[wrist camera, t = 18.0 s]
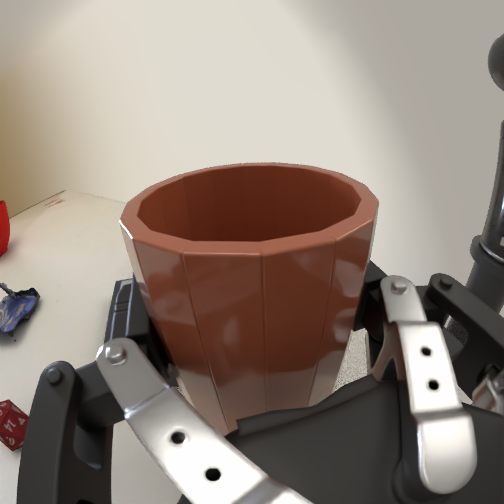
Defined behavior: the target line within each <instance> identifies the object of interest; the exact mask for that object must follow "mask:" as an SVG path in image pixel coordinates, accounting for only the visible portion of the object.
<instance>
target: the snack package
mask: <svg viewBox="0 0 504 504" xmlns="http://www.w3.org/2000/svg"><path fill="white" fill-rule="evenodd" d="M0 288H2V289H3V290H4V291H6V293H7V294H9V295H8V296H5V297H4V298H3V300H2V301H1V302H0V331H1V332H3V333H5V334H7V335H9V336H11V337H13V334H14V331H15V328H16V326H17V324H18V322H19V321H20V320H21V318H26V319H28V320H29V318H30V316H31V314H32V312H33V311H35V310H34V309H35V308H36V305H37V302H38V299H39V298H40V295H39V294H38V292H37V291H36V290H35V289H34V288H30V289H29V290H26V291H25V290H24V291H23V290H21V291H19V292H13V291H12V290H11V289H8V288H7V286H6V284H4V283H2V284H1V283H0ZM15 341H16V339H15ZM15 341H14V342H15Z"/></svg>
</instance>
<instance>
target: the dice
mask: <svg viewBox="0 0 504 504" xmlns="http://www.w3.org/2000/svg"><path fill="white" fill-rule="evenodd" d="M28 419H29V416H27V415H26V414H25V413H24V412H23V411H21V410H20V409H19V408H18V407H17V406H16V405H15V404H13V403H12V402H11V401H10V400H6V401H2V402H0V441H1V442H2V443H3V444H5V445H6V446H7V447H8V448H9V449H10V450H11V451H14V450H16V449H19V448H21V447H23V442H24V437H25V432H26V427H27V423H28Z"/></svg>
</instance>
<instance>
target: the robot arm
mask: <svg viewBox="0 0 504 504" xmlns="http://www.w3.org/2000/svg"><path fill="white" fill-rule="evenodd" d="M488 68H489V72H490V75H491V77H492V79H493V81H494V82H495V84H496V85H497V86H498V87H499V88H500V89H501V90H503V91H504V34H502V35H501V36H499V37H498V38H497V39H496V40H495V42H494V43H493V44H492V46H491V49H490V51H489V55H488ZM479 245H480V247H481V249H482V250H483V251H484V252H485V253H486V254H487V255H488V256H489V257H491V258H492V259H493V260H495V261H496V262H498V263H500V264H502V265H504V120H503V121H502V123H501V130H500V143H499V153H498V162H497V169H496V175H495V181H494V187H493V192H492V197H491V202H490V206H489V210H488V214H487V218H486V222H485V226H484V229H483V233H482V236H481V238H480V241H479ZM115 304H116V305H115V308H114V314H113V320H112V326H111V332H110V339H109V341H108V342H107V343H105V344H104V345H103V346H102V347H101V348H100V350H99V351H98V353H97V357H96V361H94V362H92V363H90V364H87V365H85V366H82V367H80V368H78V369H74V368H73V367H72V365H71V364H70V363H68V362H66V361H57V362H54V363H52V364H50V365H49V366H47V367H46V368H45V369H44V371H43V372H42V374H41V376H40V379H39V382H38V386H37V389H36V392H35V396H34V399H33V403H32V407H31V410H30V414H29V419H28V423H27V427H26V432H25V437H24V442H23V447H22V453H21V460H20V467H19V476H18V487H17V504H111V459H112V439H113V426H114V424H115V423H118V422H120V421H123V420H125V419H126V421H127V422H128V424H129V425H130V427H131V428H132V430H133V431H134V433H135V434H136V436H137V437H138V439H139V440H140V442H141V443H142V444H143V446H144V447H145V448H146V450H147V451H148V452H149V454H150V455H151V456H152V458H153V459H154V460H155V462H156V463H157V464H158V465H159V467H160V468H161V469H162V470H163V472H164V473H165V474H166V475H167V476H168V478H169V479H170V480H171V481H172V482H173V483H174V484H175V486H176V487H177V488H178V489H179V490H180V491H181V492H182V493H183V494H182V496H181V498H180V499H179V501H178V503H177V504H504V318H503V317H502V316H501V315H499V314H498V313H497V312H496V311H495V310H493V309H492V308H491V307H490V306H489V305H487V304H486V303H485V302H484V301H482V300H481V299H480V298H479V297H477V296H476V295H475V294H474V293H472V292H471V291H470V290H469V289H467V288H466V287H465V286H463V285H462V284H461V283H459V282H458V281H457V280H455V279H454V278H452V277H451V276H449V275H446V274H442V273H437V274H434V275H432V276H431V278H430V281H429V284H428V286H415V285H414V284H413V283H412V282H411V281H410V280H408V279H406V278H404V277H401V276H396V275H391V276H387V275H386V274H385V273H384V272H383V271H382V270H381V269H380V268H379V267H377V266H376V265H375V264H374V263H373V262H372V261H371V260H370V262H369V267H368V272H367V277H366V281H365V286H364V290H363V294H362V299H361V303H360V307H359V311H358V315H357V319H356V322H355V326H354V330H353V331H354V332H355V331H357V330H360V329H363V328H365V329H366V330H367V332H366V335H365V345H366V359H367V376H365V377H362V378H360V379H358V380H356V381H353V382H351V383H349V384H346V385H344V386H342V387H341V388H339V389H338V390H337V391H335V392H334V393H332V394H331V395H330V396H328V397H327V398H325V399H324V400H322V401H321V402H319V403H318V404H316V405H314V406H311V407H304V408H294V409H282V410H272V411H268V412H264V413H261V414H257V415H253V416H249V417H245V418H241V419H236V424H237V427H238V429H236V430H234V431H232V432H230V433H228V434H227V435H225V436H224V437H223V436H222V435H221V434H220V433H219V432H218V431H217V430H216V429H215V428H214V427H213V426H212V425H211V424H210V423H209V422H208V421H207V420H206V419H205V418H204V417H203V416H202V415H201V414H200V413H199V412H198V411H197V410H196V409H195V408H194V407H193V406H192V405H191V404H190V403H189V402H188V401H187V400H186V399H185V397H184V396H183V395H182V394H181V393H180V392H179V391H178V390H177V389H176V388H175V387H174V386H173V385H169V384H168V383H167V382H166V381H165V380H166V379H170V372H169V363H168V361H167V358H166V356H165V354H164V351H163V349H162V347H161V344H160V342H159V340H158V337H157V335H156V332H155V330H154V327H153V325H152V322H151V319H150V317H149V314H148V312H147V309H146V306H145V303H144V301H143V298H142V295H141V292H140V289H139V286H138V283H137V280H136V277H135V274H134V272H133V278H132V283H130V284H125V285H123V286H122V288H121V289H120V291H119V292H118V293H117V297H116V302H115ZM449 315H450V316H451V317H453V318H454V319H455V320H456V321H457V322H458V323H459V324H461V325H462V326H463V327H464V328H465V329H466V330H467V332H468V335H469V338H468V341H467V343H466V345H463V344H462V343H461V342H460V341H459V340H458V339H457V338H456V337H455V336H454V335H453V334H451V333H450V332H449V331H448V330H447V329H446V328H445V327H444V325H445V323H446V320H447V318H448V317H449ZM457 385H458V386H459V387H460V388H461V389H462V390H463V391H464V392H465V394H466V395H467V396H468V397H469V398H470V399H471V400H472V401H473V403H472V404H471V405H469V404H466V403H463V402H461V399H460V394H459V390H458V386H457Z"/></svg>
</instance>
